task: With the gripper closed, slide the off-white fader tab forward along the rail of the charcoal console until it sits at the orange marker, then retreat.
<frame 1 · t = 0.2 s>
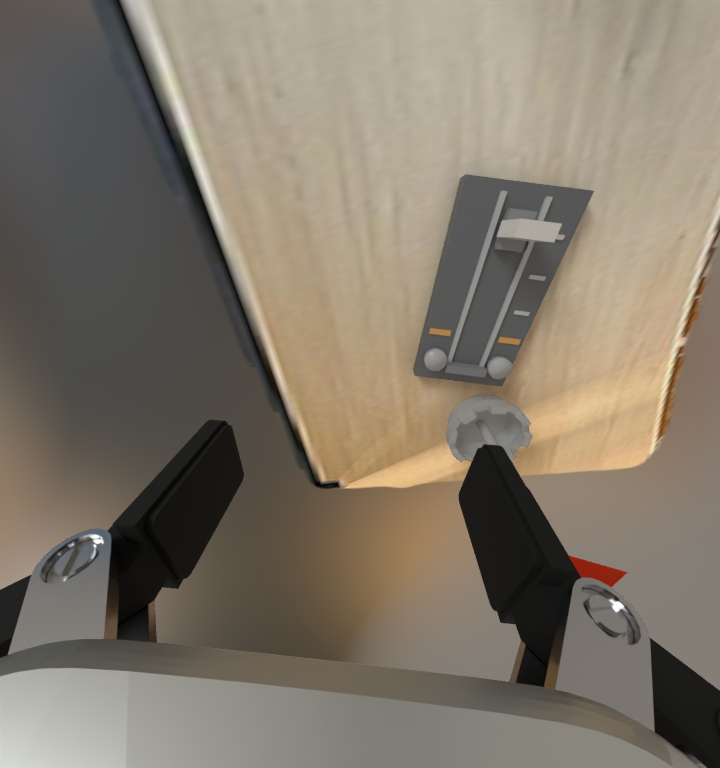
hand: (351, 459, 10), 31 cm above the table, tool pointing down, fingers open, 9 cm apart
fader tab: (524, 230, 27), point 5 cm above the table, slide at 0.0 cm
flag stand: (478, 419, 46), on the table
console: (482, 297, 35), on the table
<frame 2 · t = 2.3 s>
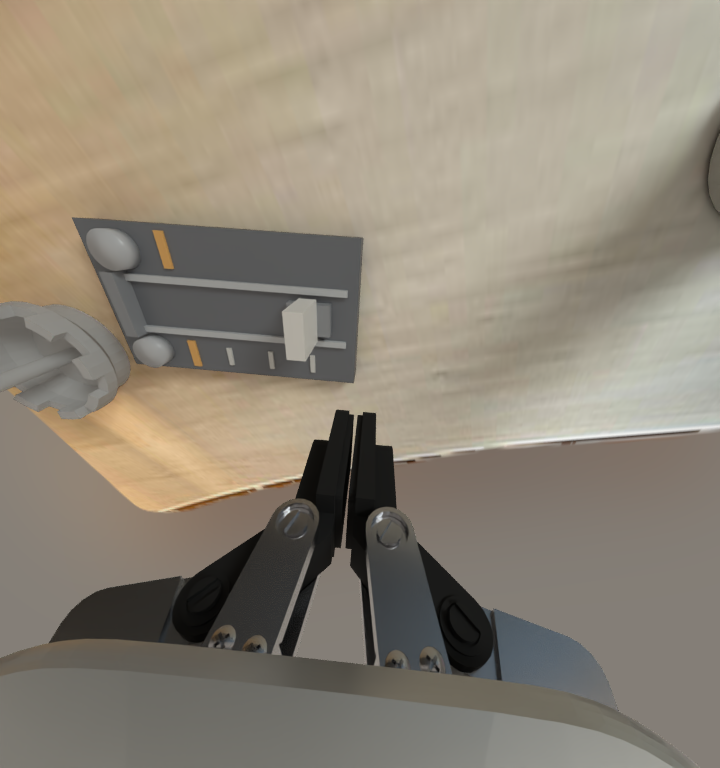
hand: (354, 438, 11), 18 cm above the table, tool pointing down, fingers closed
fader tab: (303, 326, 22), point 5 cm above the table, slide at 0.0 cm
flag stand: (85, 349, 31), on the table
console: (240, 305, 27), on the table
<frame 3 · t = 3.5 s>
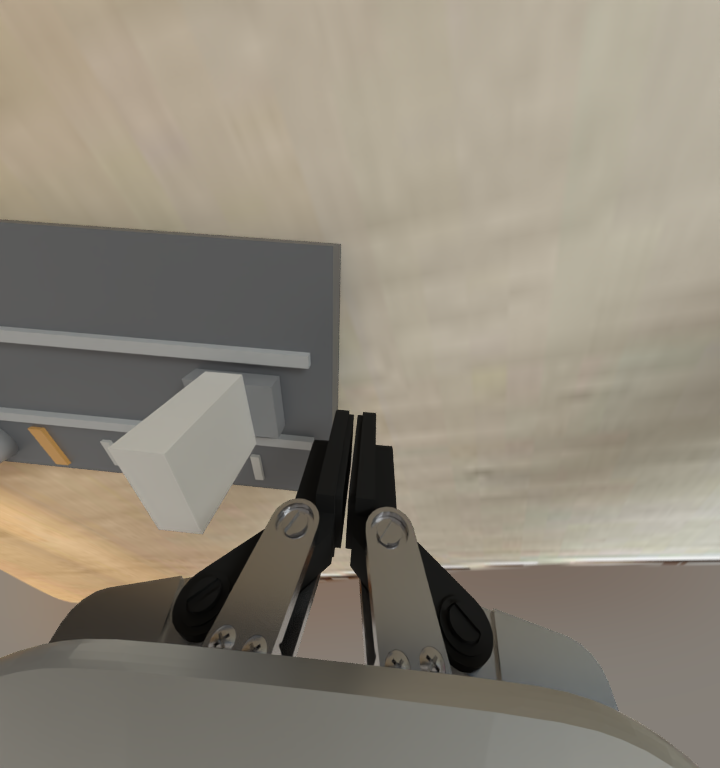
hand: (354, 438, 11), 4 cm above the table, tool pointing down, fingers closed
fader tab: (211, 436, 10), point 5 cm above the table, slide at 0.0 cm
console: (124, 366, 15), on the table
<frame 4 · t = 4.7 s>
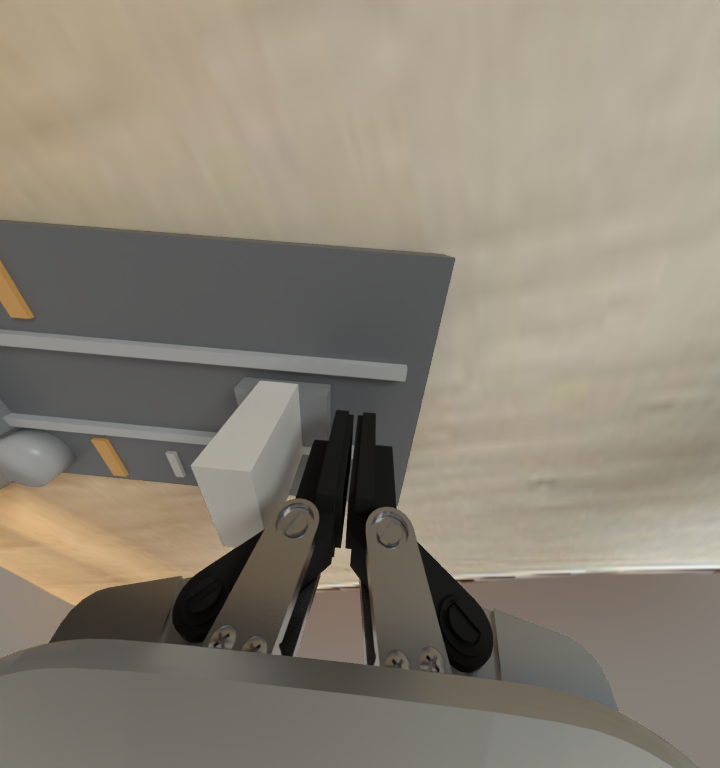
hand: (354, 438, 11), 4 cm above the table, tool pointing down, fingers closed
fader tab: (268, 447, 10), point 5 cm above the table, slide at 1.8 cm, touching gripper
console: (191, 375, 14), on the table
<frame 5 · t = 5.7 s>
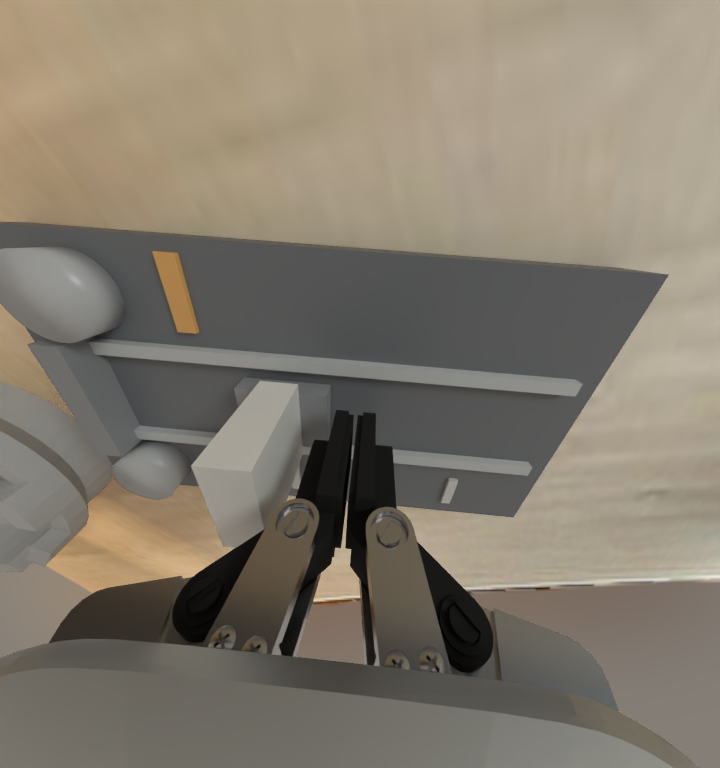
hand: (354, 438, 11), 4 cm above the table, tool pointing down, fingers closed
fader tab: (269, 448, 10), point 5 cm above the table, slide at 9.0 cm, touching gripper
flag stand: (34, 441, 18), on the table
console: (318, 387, 14), on the table
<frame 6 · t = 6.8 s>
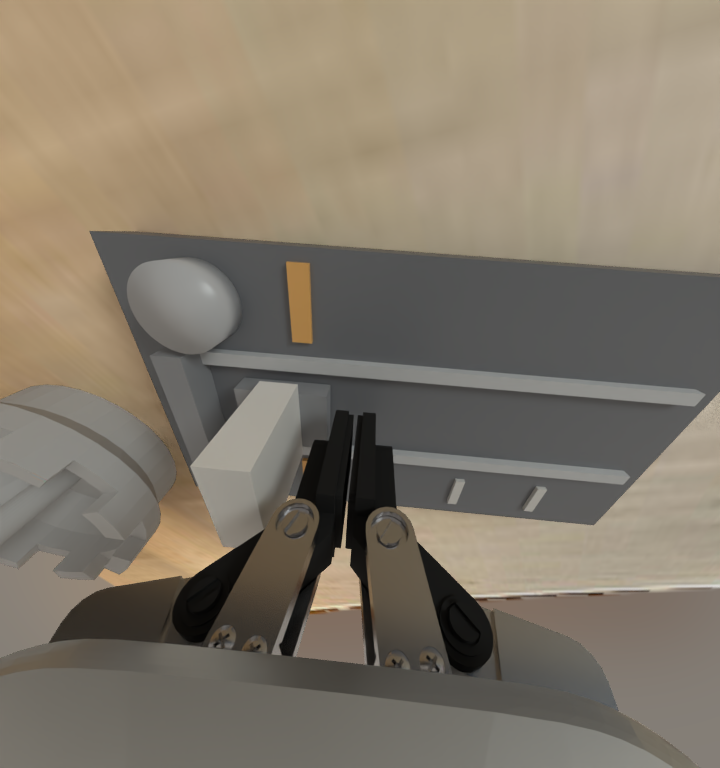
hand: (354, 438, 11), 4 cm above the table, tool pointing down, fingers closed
fader tab: (268, 448, 10), point 5 cm above the table, slide at 13.8 cm, touching gripper
flag stand: (100, 448, 18), on the table
console: (405, 394, 14), on the table
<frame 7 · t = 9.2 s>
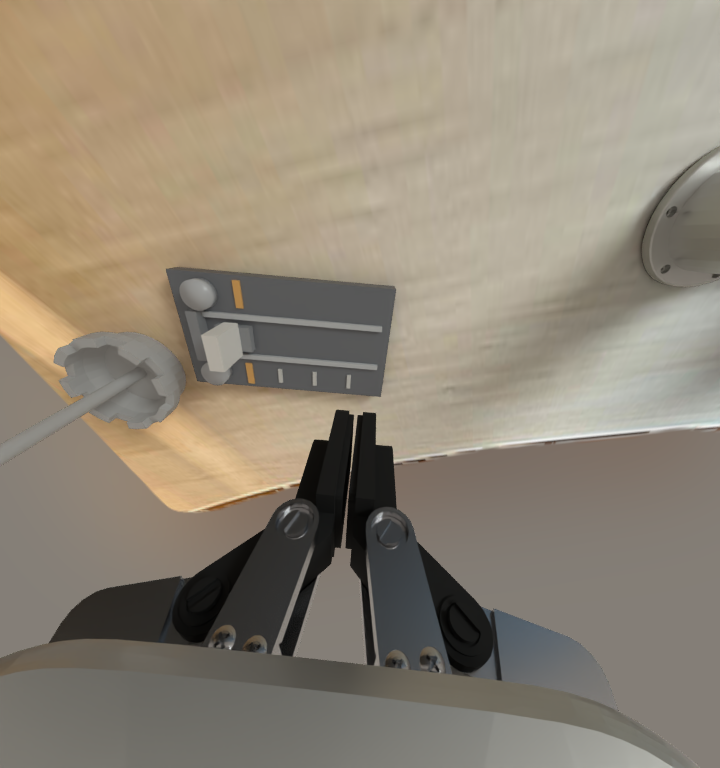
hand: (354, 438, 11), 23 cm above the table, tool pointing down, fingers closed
fader tab: (226, 344, 28), point 5 cm above the table, slide at 13.9 cm
flag stand: (147, 368, 36), on the table
console: (290, 334, 33), on the table
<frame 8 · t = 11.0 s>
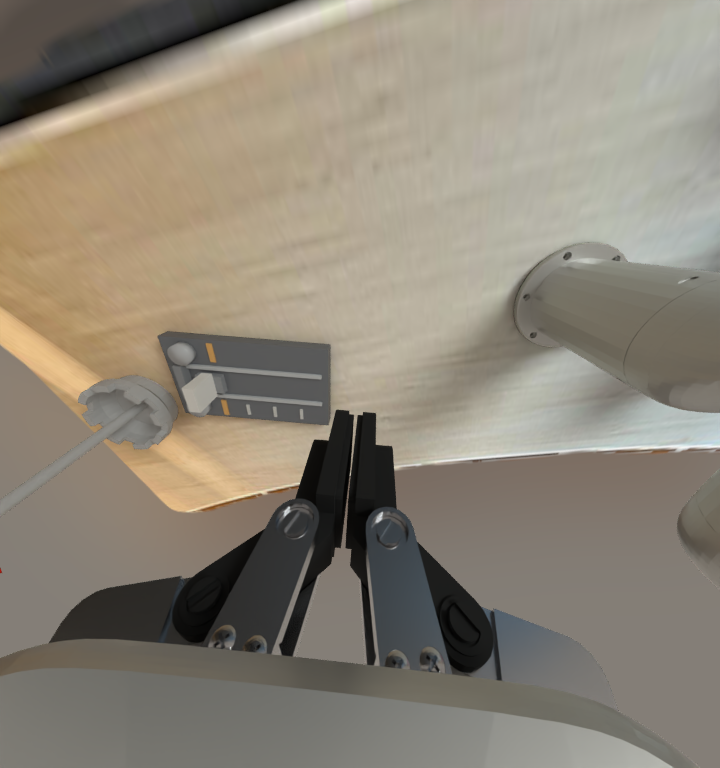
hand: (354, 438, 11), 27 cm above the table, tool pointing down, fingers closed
fader tab: (203, 390, 38), point 5 cm above the table, slide at 13.9 cm
flag stand: (148, 401, 46), on the table
console: (255, 378, 42), on the table
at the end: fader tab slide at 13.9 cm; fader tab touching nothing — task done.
